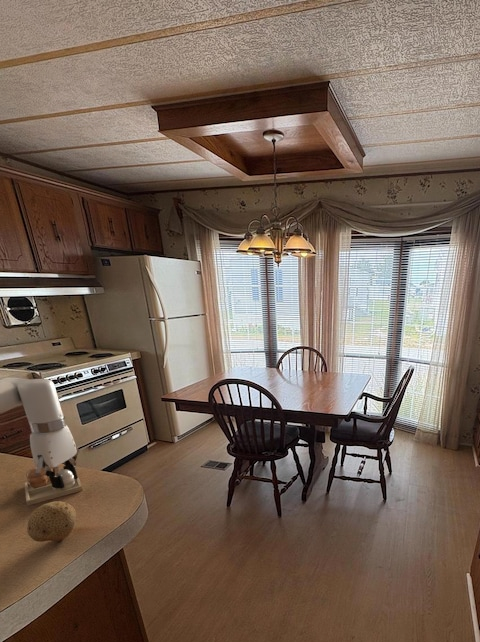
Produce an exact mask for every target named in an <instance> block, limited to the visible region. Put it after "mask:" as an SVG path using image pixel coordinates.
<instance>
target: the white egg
mask: <svg viewBox="0 0 480 642" xmlns="http://www.w3.org/2000/svg"><path fill="white" fill-rule="evenodd" d="M58 470H59V475H61V476H62V479H63V483H64V488H59V489H61V490H62V491H63V490H67V489H70V488H73V486H74V484H75V480H74V476H73V473H72V472H71V471H70V470H68V469H63V468H62V469H58Z"/></svg>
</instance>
